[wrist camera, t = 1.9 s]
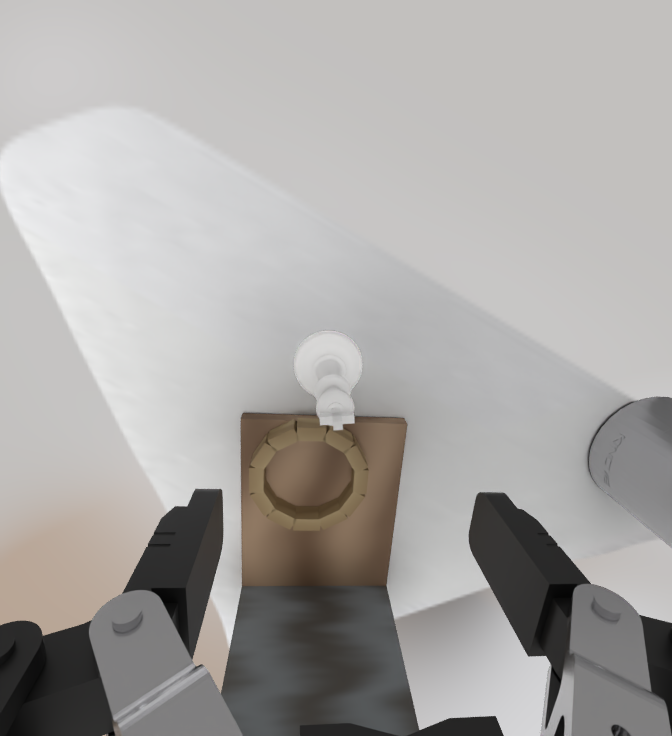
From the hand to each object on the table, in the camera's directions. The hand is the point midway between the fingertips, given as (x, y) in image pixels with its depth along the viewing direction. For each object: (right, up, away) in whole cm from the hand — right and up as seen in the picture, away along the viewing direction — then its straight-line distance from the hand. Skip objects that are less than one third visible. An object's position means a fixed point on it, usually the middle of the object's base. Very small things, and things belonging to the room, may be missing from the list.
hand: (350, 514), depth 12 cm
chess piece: (-1, +5, +16) cm, 17 cm away
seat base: (-2, -7, +19) cm, 20 cm away
